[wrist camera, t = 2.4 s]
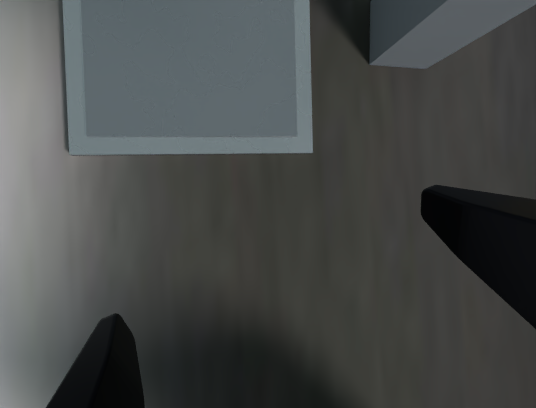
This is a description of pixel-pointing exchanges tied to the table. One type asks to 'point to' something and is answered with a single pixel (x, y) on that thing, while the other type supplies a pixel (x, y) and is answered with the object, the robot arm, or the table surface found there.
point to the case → (188, 77)
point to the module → (432, 28)
